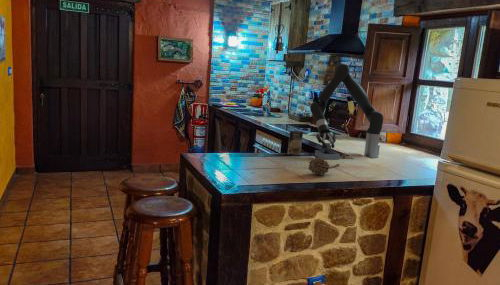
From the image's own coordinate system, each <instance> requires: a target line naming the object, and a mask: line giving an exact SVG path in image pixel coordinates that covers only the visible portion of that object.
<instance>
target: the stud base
mask: <svg viewBox="0 0 500 285" xmlns="http://www.w3.org/2000/svg"><path fill="white" fill-rule="evenodd" d="M339 160H354V158H353V157H350V156H348V155H347V154H346V153H345V152H343V153H342V155H340V158H339Z"/></svg>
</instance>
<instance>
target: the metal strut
mask: <svg viewBox="0 0 500 285" xmlns="http://www.w3.org/2000/svg"><path fill="white" fill-rule="evenodd" d="M325 144H326V148H324V147H323V150H324V152H323V154H332V153H331V151H332V147H331V145H332V144H331V143H330V142H325Z"/></svg>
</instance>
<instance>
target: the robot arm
mask: <svg viewBox="0 0 500 285" xmlns="http://www.w3.org/2000/svg"><path fill="white" fill-rule="evenodd" d="M333 72H334V75H333V77H332V79H331V80H330V81H329V83H327V85H326V86H325V87H324V88H323V89H322V91H321V93H320V95H319V96H318V100H319V103H318V102H316V101H315V102H314V101H313V102H311V103H310V105H309V110H310V112H311V115H312V116H313V118H314V120H315V124H316V128H317V131H318V133H317V134H316V136H315V137H316V140H317V142H318V143H319V144H321V145H322V147H323V149H324V148H326V144H325V143H326V142H325V141H327V142H328V143H331V144H332V145H331V149H334V148H335V143H336V141H337V139H336V134H335V133H333V134H332V133H331V130H330V126H329V124H328V122H327V121H328V120H327V119H326V116H325V114H324V111H325V110H326V107H327V104H328V101H329V100H330V99H331V97H332V96H333V94H334V93H335V91H336V89H337V88H338V87H339V86H340V84H341V83H343V85H344V86H345V88H346V89H347V91H348V94H349V95H350V96H351V97H352V99H353V100H354V102H355V103H356V104H357V105H358V107H359V108H360V109H361V110H362V111H363V114H364V115H365V117H366V119H367V120H368V122H369V125H368V128H367V129H366V135H365V143H364V153H363V156H364V157H367V158H371V159H372V158H373V159H374V158H379V155H380V147H381V144H380V137H381V132H382V130H383V124H384V115H383V113H382V112H380V111H378V110H376V109H375V108H374V106H373V105H372V104H371V102H370V98H369V96H368V94H367V93H366V91H365V89H364V88H363V87H362V86H361V85H360V84H359V82H357V81H356V80H355V79H354V78H353V77H352V75H351V73H350V67H349V65H348V64H345V63H338V64H336V65H335V67H334V71H333Z"/></svg>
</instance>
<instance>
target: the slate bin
mask: <svg viewBox="0 0 500 285" xmlns="http://www.w3.org/2000/svg"><path fill="white" fill-rule="evenodd" d="M323 152H324V149H323V150H321V149H319V150H318V149H314V159H315V158H316V159H318V158H321V160H322V159H324V161H325V162H326V161H327V160H330V161H331V160H332V161H334V160H335V161H338V160H340V159H339V158H340V156H341V154H340V153H337V152H335V151H332V150H331V153H332V154H323Z"/></svg>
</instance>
